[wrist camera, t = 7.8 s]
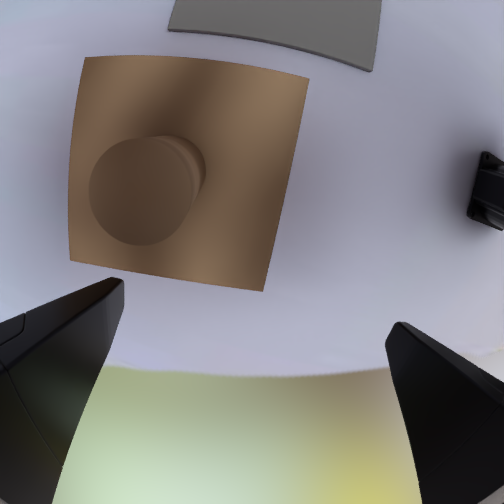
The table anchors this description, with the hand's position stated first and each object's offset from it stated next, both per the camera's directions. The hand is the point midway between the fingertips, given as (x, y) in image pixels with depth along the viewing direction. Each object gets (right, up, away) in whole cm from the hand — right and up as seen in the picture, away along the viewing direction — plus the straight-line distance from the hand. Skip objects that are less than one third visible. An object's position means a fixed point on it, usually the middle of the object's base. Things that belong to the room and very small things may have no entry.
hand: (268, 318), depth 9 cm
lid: (-4, +6, +5) cm, 9 cm away
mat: (+2, +22, +4) cm, 23 cm away
